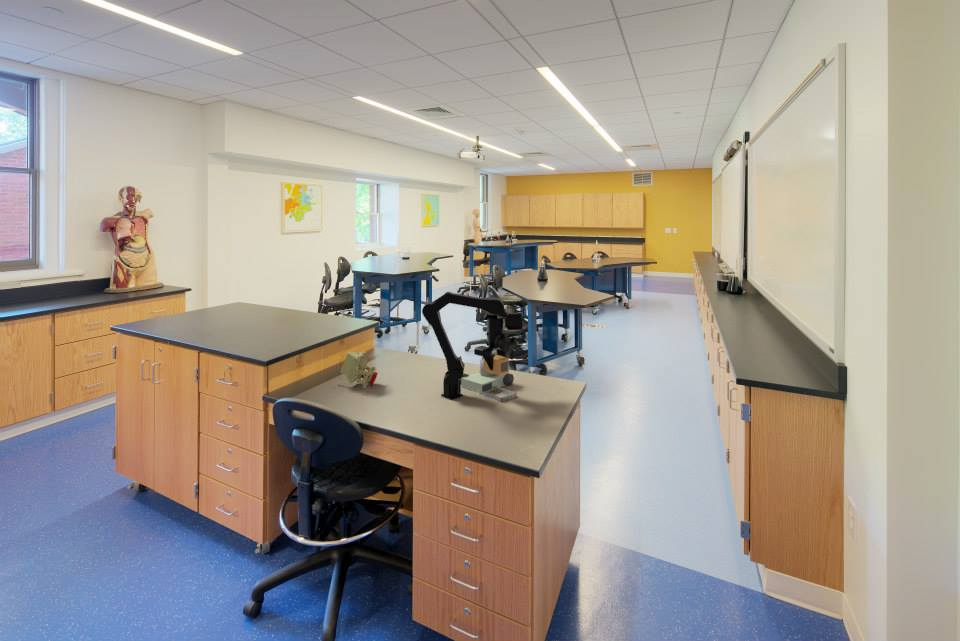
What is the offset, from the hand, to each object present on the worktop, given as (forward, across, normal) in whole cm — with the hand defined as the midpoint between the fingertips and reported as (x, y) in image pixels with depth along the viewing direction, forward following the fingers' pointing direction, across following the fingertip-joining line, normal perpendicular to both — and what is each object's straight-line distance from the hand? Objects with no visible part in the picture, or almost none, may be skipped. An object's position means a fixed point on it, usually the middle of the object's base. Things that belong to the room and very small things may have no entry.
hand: (496, 368), depth 194 cm
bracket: (+11, +1, 0) cm, 11 cm away
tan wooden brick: (+1, 0, 0) cm, 1 cm away
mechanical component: (+11, -30, +49) cm, 59 cm away
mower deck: (+11, +6, +12) cm, 18 cm away
